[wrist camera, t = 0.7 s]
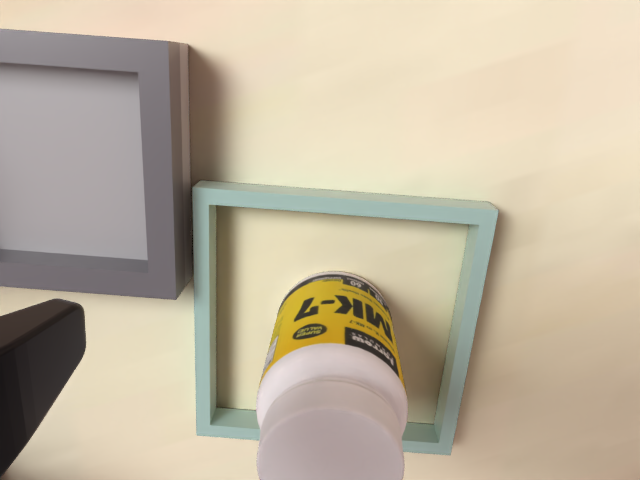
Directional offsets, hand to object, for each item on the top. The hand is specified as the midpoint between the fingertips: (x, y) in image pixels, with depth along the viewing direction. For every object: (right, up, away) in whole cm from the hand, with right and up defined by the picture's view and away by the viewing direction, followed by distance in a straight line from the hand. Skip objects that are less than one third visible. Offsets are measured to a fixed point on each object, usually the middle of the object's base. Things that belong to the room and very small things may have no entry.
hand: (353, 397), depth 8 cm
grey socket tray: (-14, +6, +12) cm, 19 cm away
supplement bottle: (0, -1, +14) cm, 14 cm away
